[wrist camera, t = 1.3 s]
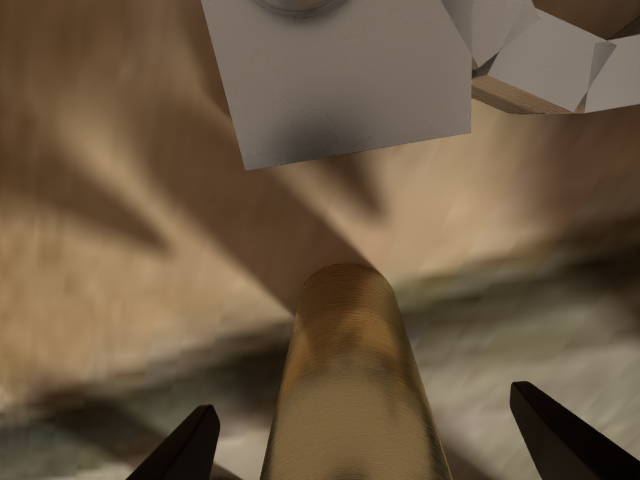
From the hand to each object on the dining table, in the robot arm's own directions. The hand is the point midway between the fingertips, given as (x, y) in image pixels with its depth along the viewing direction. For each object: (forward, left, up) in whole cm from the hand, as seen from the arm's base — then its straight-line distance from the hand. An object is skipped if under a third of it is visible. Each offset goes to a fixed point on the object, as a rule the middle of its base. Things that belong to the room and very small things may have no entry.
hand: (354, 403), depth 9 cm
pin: (0, 0, -5) cm, 5 cm away
